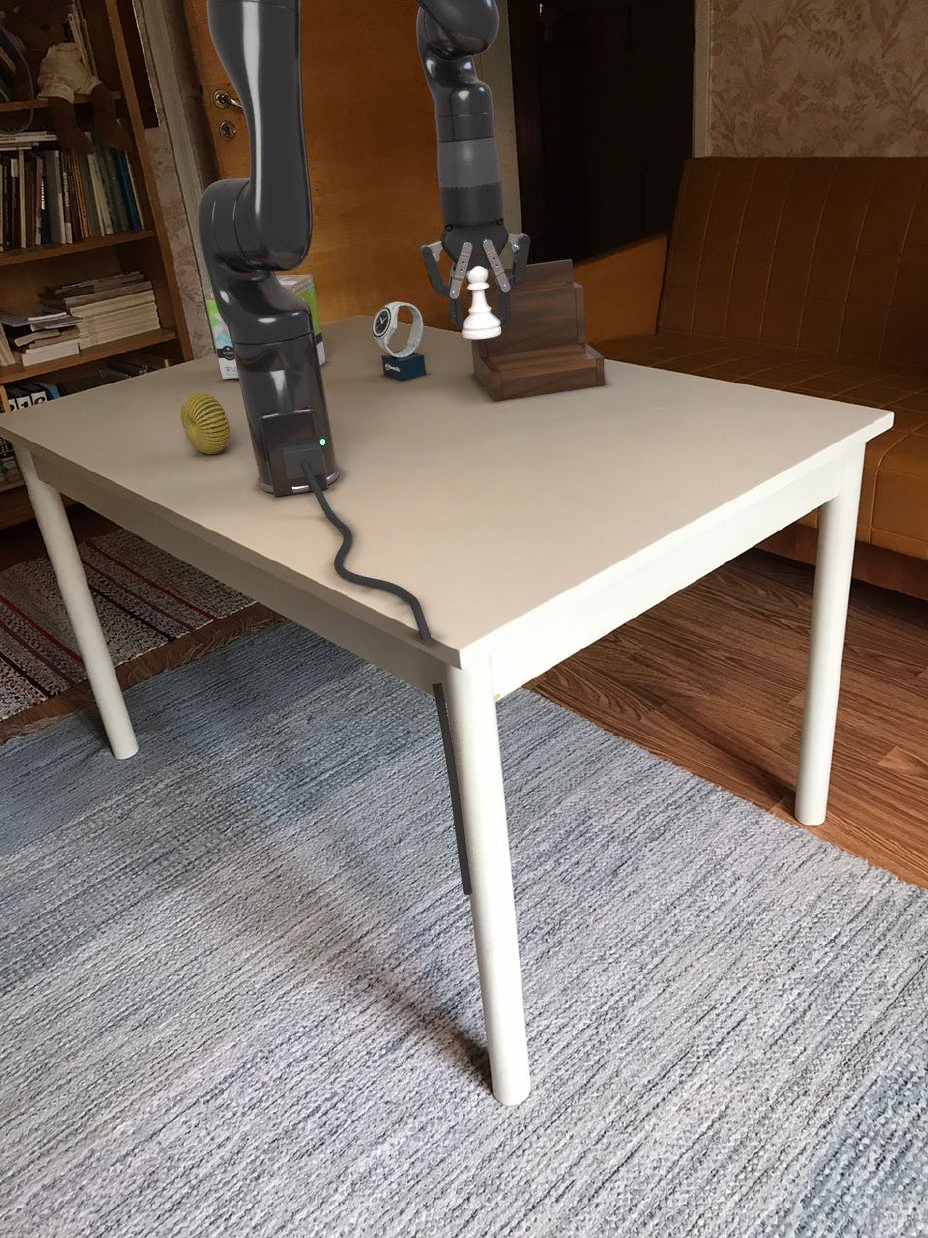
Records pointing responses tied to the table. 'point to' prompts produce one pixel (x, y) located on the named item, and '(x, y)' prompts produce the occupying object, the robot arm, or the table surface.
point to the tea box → (293, 283)
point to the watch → (406, 360)
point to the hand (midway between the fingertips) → (481, 323)
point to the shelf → (538, 337)
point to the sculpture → (205, 423)
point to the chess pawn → (479, 308)
